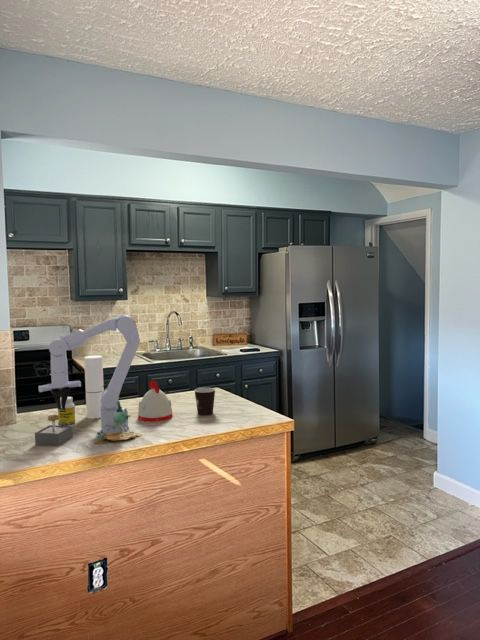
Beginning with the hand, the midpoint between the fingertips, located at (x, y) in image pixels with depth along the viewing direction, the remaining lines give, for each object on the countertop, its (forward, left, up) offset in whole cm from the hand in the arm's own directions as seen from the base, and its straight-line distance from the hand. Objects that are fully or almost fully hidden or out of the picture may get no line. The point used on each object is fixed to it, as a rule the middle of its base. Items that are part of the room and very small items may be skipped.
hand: (61, 408), depth 179 cm
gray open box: (-1, +7, -10) cm, 12 cm away
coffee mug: (-45, -36, -10) cm, 59 cm away
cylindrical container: (-1, -24, -10) cm, 26 cm away
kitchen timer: (-26, -27, -10) cm, 39 cm away
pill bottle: (+4, -10, -10) cm, 15 cm away
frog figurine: (-22, +1, -10) cm, 24 cm away
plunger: (-1, +7, -7) cm, 10 cm away
